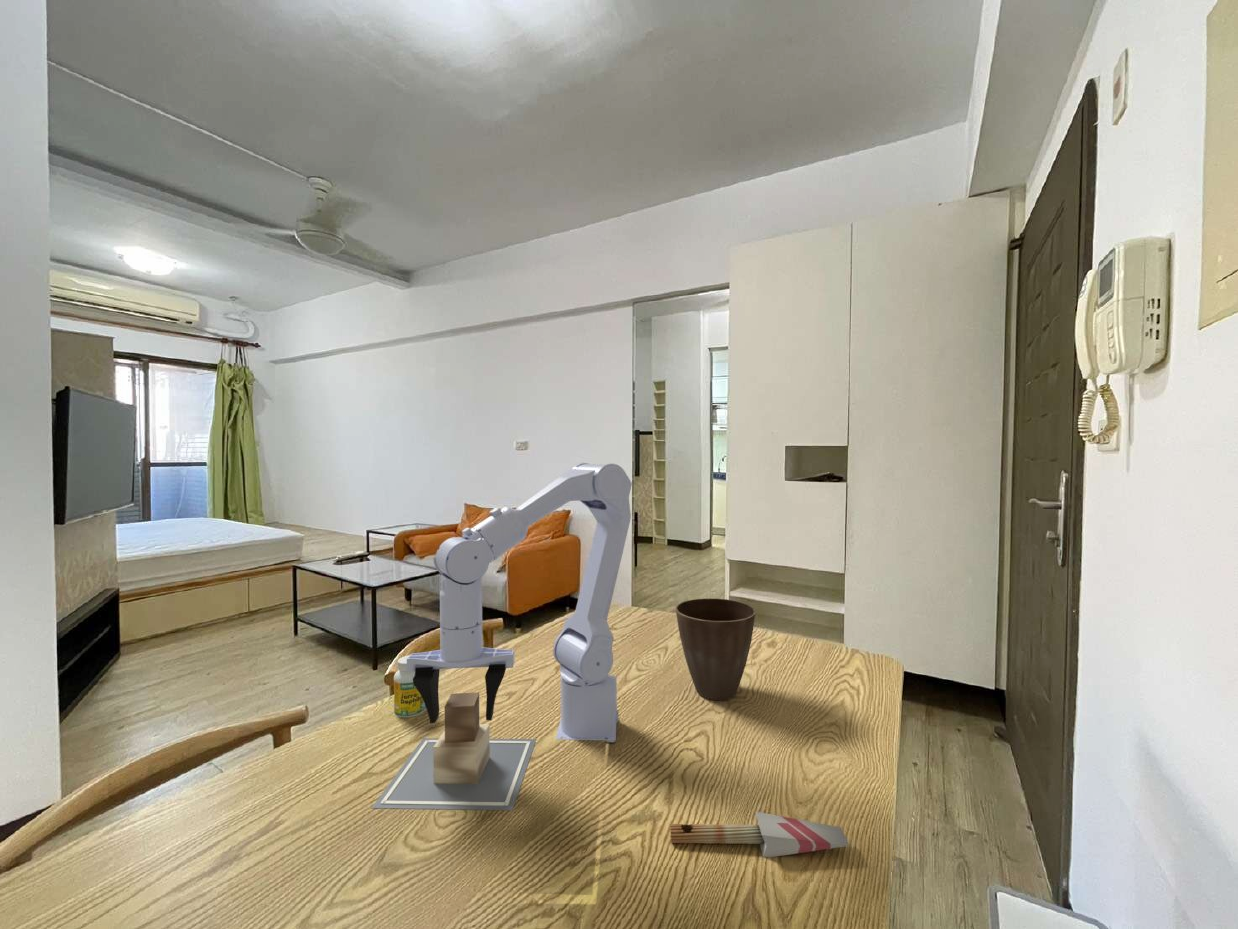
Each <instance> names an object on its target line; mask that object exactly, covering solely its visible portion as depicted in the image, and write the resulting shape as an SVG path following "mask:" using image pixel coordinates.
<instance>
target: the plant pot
mask: <svg viewBox="0 0 1238 929" xmlns="http://www.w3.org/2000/svg"><path fill="white" fill-rule="evenodd" d="M675 613H676V614H675V616H676V620H677V626H678V627H677V628H678V632H679V633H678V634H679V638H680V641H681V647H682V651H683V655H684V659H685V662H686V664H687V667H688V671H689V674H690V677H691V681H692V683H693V685H694V688H695V690H696V693H697V694H698V695H699V696H701V697H702V698H704V699H707V700H709V701H710V700H711V701H727V700H731V699H732V698H734V697H735V696H736V694H737V692H738V690H739V686H740V683H741V680H742V678H743V674H744V671H745V668H746V665H747V661H748V657H749V654H750V653H749V652H750V649H751V644H752V640H753V639H752V638H753V633H754V628H755V625H754V624H755V618H756V610H755V608H754V607H753V606H751V605H750V604H747V603H744V602H742V601H737V600H732V599H726V598H714V597H713V598H710V597H709V598H707V597H706V598H694V599H689V600H684V601H682V602H680V603H678V604H677V605H676V607H675Z"/></svg>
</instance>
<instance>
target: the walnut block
mask: <svg viewBox="0 0 1238 929" xmlns="http://www.w3.org/2000/svg"><path fill="white" fill-rule="evenodd" d="M479 724H480V691H479V692H478V691H477V692H461V693H460V692H459V693H456V692H455V693H450V695H449V696H448V699H447V702H446V703H445V705H444V731H445V743H455V742H472V741H475V738H476V735H477V732H478V729H479Z"/></svg>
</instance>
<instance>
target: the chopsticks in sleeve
mask: <svg viewBox="0 0 1238 929" xmlns="http://www.w3.org/2000/svg"><path fill="white" fill-rule="evenodd" d="M754 813H755V815H756V819H757V822H758V824H709V823H708V824H707V823H706V824H701V823H700V824H698V823H694V824H693V823H690V824H682V823H670V825H669V831H670V834H669V835H670V843H672V844H750V845H751V844H752V845H753V844H757V845H758V844H759V847H760V851H761V854H762V855H761V856H762V858H773V857H774V858H775V857H781V856H789V855H795V854H800V853H801V854H802V853H809V852H810V853H811V852H817V851H823V850H828V849H829V850H830V849H837V848H842V847H843V848H844V847H850V843H849V841H848V838H847V837H846V835H845V833H844V830H843V829H842V827H841V826H834V825H829V824H824V823H819V822H813V821H807V820H803V819H797V818H792V817H786V816H782V815H776V814H771V813H765V812H760V811H757V810H755V811H754Z"/></svg>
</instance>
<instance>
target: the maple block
mask: <svg viewBox="0 0 1238 929" xmlns="http://www.w3.org/2000/svg"><path fill="white" fill-rule="evenodd" d="M489 739H490V724H489V723H479V729H478V732H477V735H476V738H475V741H472V742H455V743H445V730H444V731H443V732H442V734H441V735H440V736H439V739H438V741H437V742H436V744H435V745H434V747H433V769H434V783H456V784H477V783H478V781H479V779H480V777H481V775H482V773H483V771H484V768H485V766H486V764H487V762H488V760H489V758H490V745H489Z"/></svg>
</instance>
